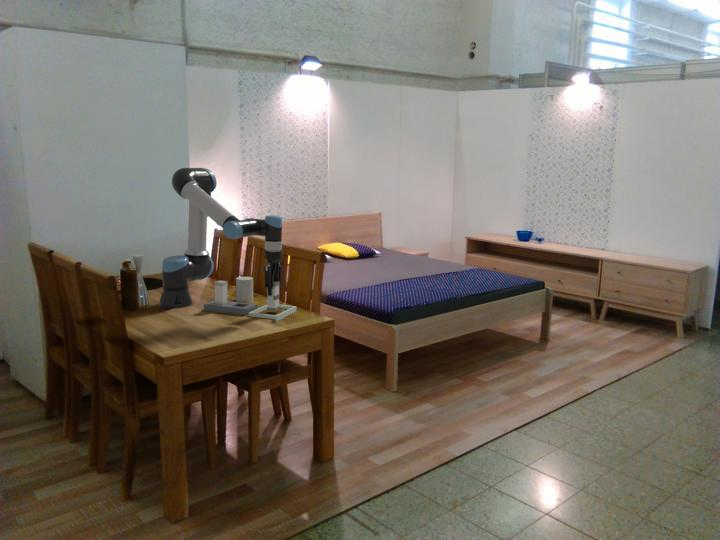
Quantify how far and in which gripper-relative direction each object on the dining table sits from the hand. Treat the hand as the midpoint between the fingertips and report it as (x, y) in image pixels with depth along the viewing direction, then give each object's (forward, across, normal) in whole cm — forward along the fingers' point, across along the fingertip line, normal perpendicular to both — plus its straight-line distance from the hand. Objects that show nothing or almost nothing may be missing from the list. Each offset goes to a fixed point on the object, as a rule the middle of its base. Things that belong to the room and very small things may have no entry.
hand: (273, 301), depth 276 cm
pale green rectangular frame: (+6, 0, 0) cm, 6 cm away
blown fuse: (+4, 0, 0) cm, 4 cm away
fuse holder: (+6, -5, +19) cm, 21 cm away
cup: (+7, +16, +24) cm, 30 cm away
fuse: (+5, -5, +24) cm, 25 cm away
